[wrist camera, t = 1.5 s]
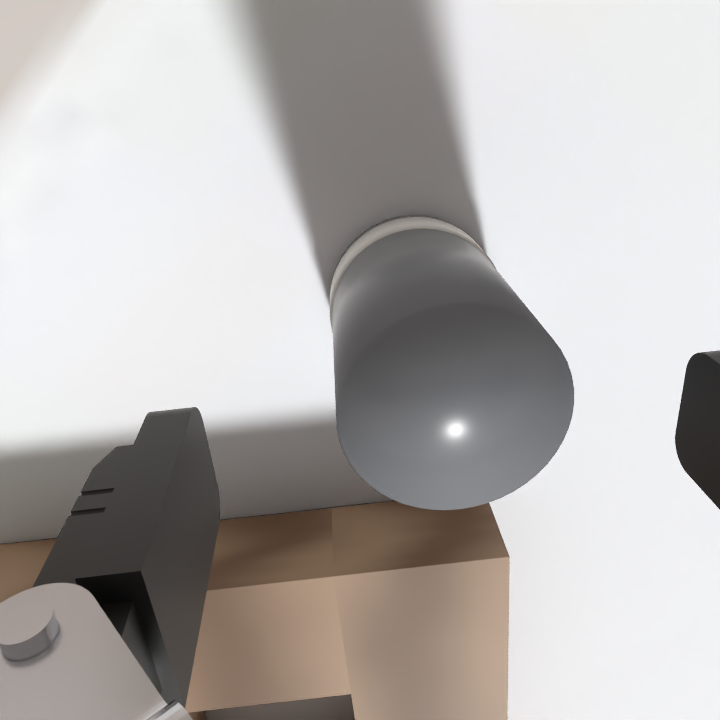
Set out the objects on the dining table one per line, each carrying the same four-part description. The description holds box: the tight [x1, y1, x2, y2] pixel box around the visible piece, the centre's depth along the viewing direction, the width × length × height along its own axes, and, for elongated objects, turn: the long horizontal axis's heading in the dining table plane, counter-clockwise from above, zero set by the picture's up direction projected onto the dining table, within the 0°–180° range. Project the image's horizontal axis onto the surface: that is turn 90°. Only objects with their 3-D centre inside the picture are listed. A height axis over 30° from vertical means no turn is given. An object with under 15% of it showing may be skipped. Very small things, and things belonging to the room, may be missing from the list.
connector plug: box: [330, 215, 574, 510], centre depth 15 cm, size 4×4×6 cm
